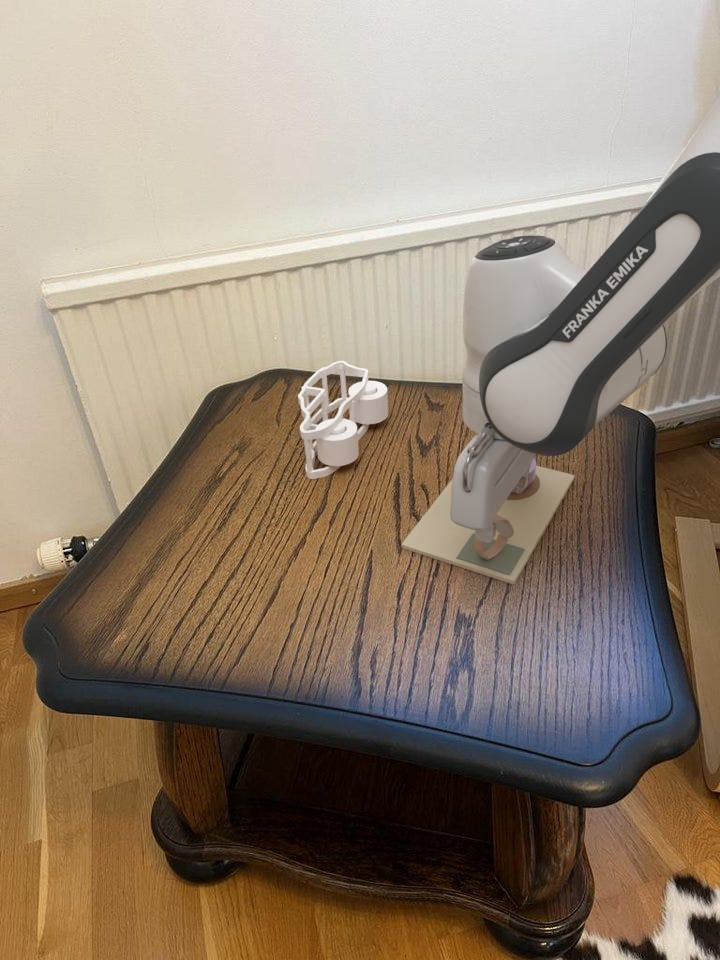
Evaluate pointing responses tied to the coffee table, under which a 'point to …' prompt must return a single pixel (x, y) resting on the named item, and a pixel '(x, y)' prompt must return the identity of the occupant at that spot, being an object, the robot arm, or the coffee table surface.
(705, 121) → the robot arm
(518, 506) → the mat
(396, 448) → the coffee table surface
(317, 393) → the car outline toy
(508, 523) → the perforated watch strap
